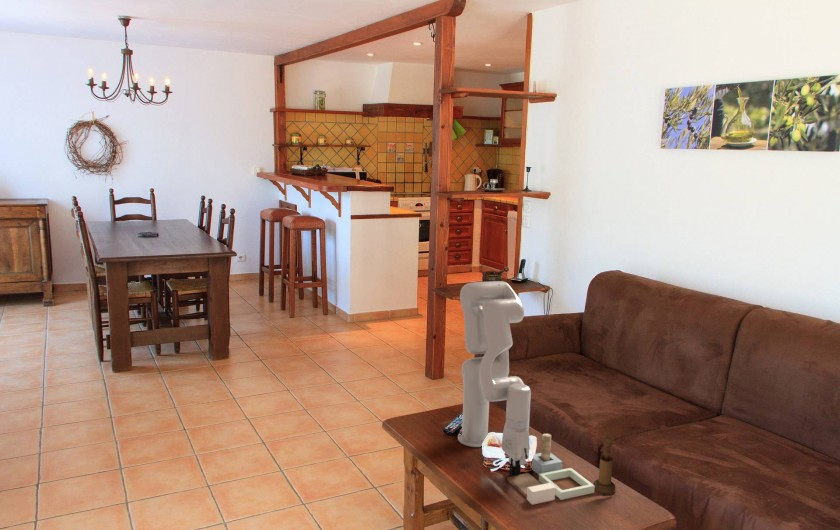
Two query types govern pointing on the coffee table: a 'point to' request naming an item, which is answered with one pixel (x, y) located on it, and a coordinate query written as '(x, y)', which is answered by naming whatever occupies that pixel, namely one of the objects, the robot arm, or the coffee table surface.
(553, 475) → the cream square frame
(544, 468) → the socket
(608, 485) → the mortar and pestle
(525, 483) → the board
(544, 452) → the dowel
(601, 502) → the coffee table surface
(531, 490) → the block
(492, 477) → the coffee table surface
